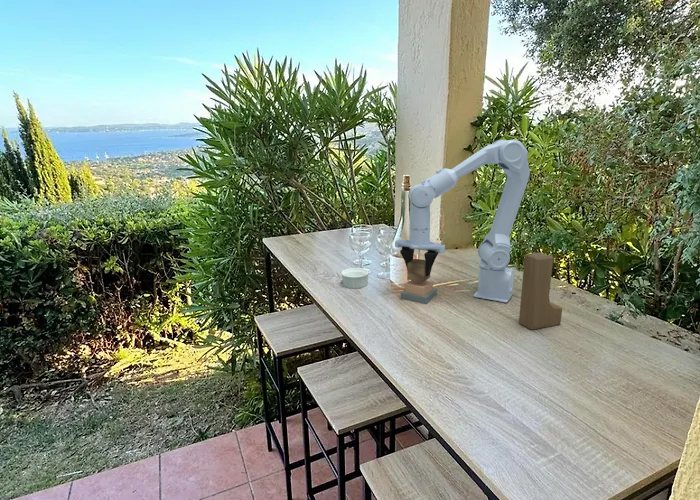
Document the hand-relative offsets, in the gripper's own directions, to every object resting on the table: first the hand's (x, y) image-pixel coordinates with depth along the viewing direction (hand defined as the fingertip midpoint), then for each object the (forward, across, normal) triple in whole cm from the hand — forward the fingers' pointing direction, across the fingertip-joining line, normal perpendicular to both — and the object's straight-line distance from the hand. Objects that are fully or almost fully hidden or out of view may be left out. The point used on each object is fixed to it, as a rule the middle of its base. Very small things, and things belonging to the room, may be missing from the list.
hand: (418, 273), depth 115 cm
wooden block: (+7, +33, -2) cm, 34 cm away
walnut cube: (+1, 0, 0) cm, 1 cm away
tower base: (+8, 0, 0) cm, 8 cm away
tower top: (+5, 0, 0) cm, 5 cm away
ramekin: (+8, -22, 0) cm, 23 cm away
